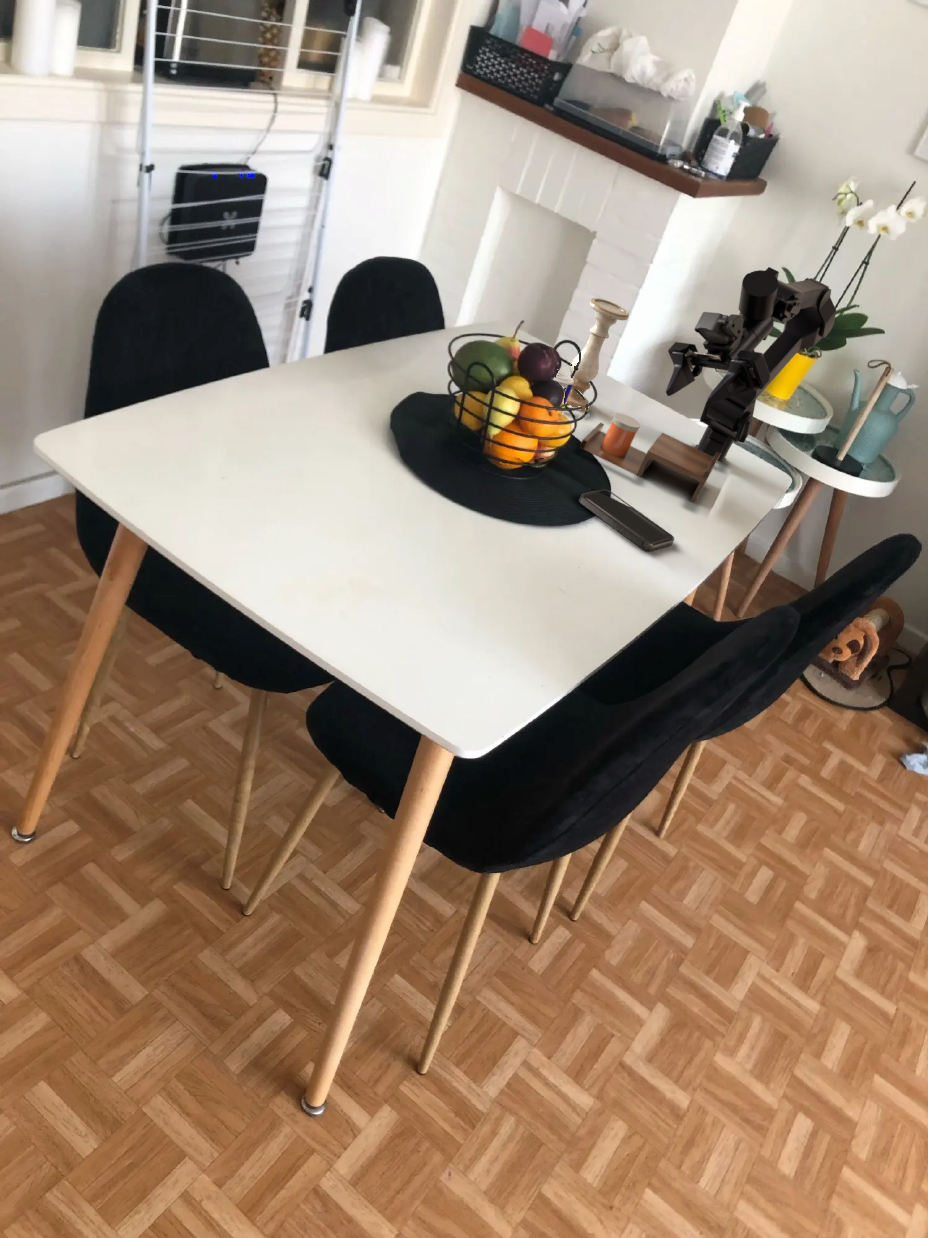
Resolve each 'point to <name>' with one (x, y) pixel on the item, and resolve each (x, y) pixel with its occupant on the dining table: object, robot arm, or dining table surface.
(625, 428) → the spice jar
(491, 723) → the dining table surface
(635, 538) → the phone
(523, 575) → the dining table surface
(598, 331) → the candle holder
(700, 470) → the step rack
